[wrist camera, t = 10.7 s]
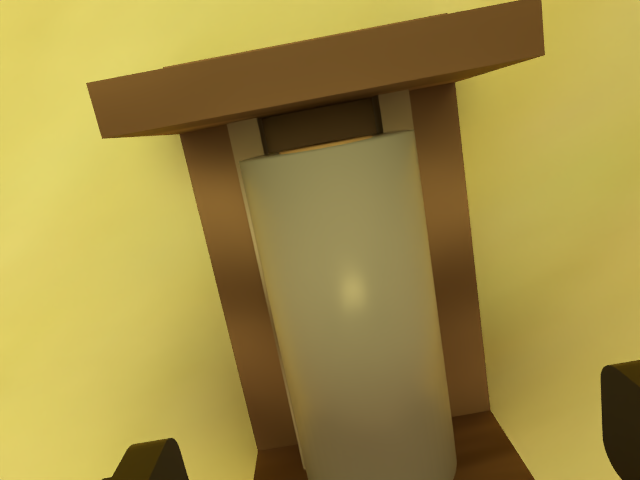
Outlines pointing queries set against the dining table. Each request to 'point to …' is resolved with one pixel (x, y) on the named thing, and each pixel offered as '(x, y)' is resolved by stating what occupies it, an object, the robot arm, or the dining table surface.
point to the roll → (355, 306)
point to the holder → (322, 126)
